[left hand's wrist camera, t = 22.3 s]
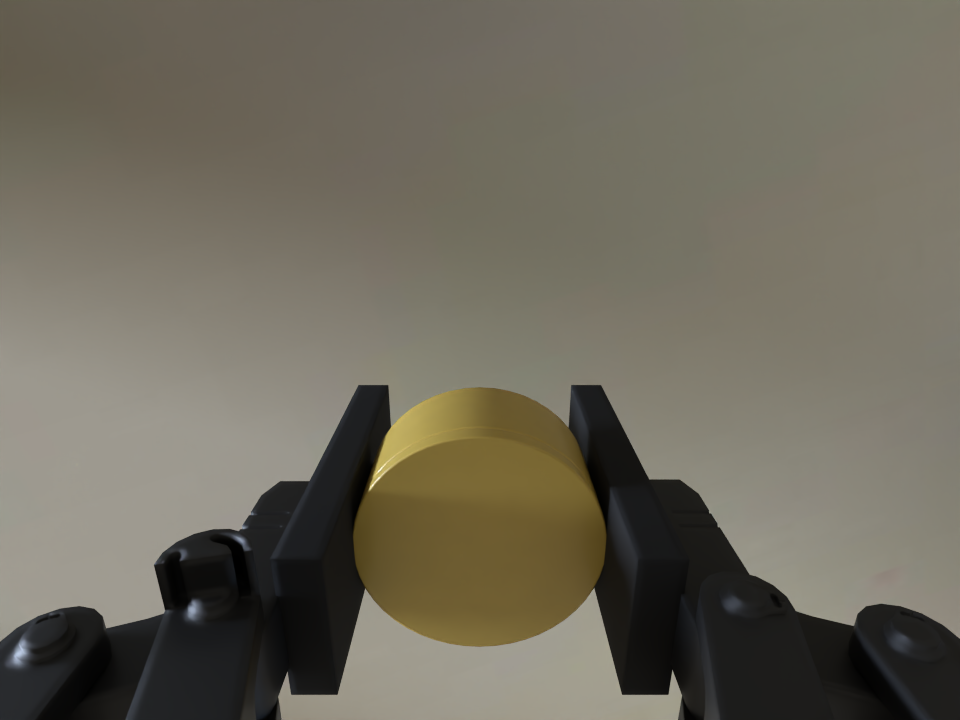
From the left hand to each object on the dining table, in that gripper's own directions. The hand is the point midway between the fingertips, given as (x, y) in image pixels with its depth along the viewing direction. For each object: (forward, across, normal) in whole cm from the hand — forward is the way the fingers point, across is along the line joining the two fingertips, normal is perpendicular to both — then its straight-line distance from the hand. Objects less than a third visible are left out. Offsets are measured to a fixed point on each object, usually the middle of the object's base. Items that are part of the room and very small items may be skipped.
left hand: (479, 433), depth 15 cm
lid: (-4, 0, 0) cm, 4 cm away
